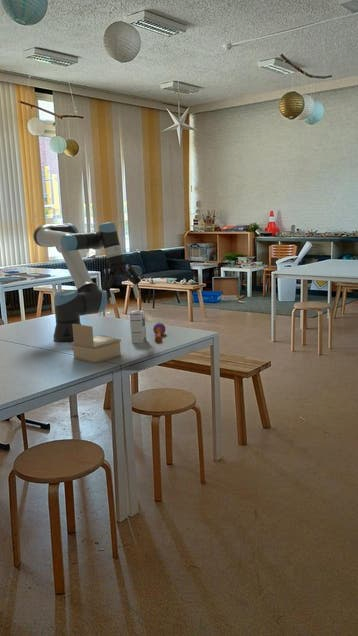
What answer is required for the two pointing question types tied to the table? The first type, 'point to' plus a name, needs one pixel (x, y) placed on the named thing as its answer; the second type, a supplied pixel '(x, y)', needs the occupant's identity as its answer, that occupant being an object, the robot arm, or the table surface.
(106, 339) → the lid
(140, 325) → the syrup box
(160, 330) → the kendama
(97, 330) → the table surface
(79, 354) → the box
